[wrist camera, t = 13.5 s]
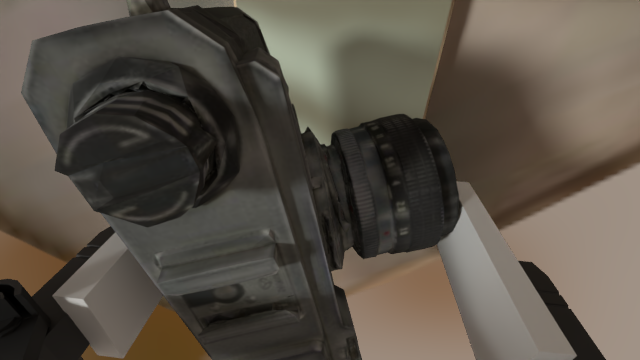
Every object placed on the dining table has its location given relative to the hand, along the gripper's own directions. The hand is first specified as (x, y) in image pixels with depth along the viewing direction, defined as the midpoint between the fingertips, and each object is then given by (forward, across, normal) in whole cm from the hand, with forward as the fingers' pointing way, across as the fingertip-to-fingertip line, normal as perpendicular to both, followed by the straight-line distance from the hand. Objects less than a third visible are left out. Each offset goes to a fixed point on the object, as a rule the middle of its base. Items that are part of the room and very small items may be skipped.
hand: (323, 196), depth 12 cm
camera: (+3, 0, -1) cm, 3 cm away
